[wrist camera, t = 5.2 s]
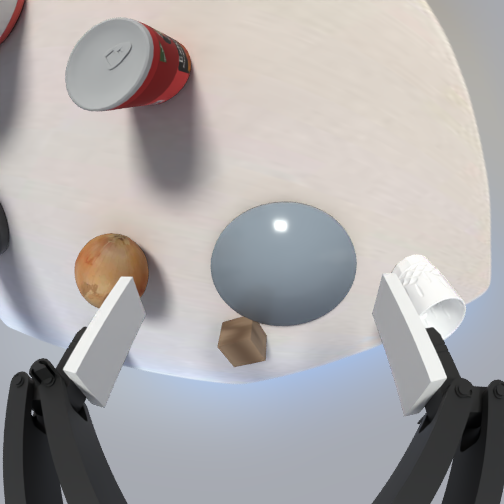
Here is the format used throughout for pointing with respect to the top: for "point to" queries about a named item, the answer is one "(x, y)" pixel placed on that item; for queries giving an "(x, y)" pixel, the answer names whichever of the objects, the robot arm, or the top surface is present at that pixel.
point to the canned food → (125, 66)
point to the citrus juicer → (9, 16)
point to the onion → (109, 266)
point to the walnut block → (242, 341)
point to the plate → (283, 263)
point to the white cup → (431, 294)
